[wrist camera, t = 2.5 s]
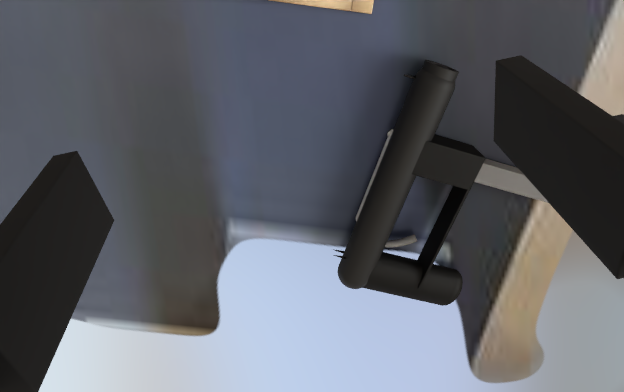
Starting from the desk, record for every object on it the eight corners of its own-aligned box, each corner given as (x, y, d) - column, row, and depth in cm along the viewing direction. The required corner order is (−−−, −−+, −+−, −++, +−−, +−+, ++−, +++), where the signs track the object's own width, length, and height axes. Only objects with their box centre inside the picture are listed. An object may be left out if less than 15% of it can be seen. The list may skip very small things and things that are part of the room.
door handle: (612, 122, 35) (414, 57, 32) (490, 325, 43) (323, 289, 40) (586, 110, 38) (403, 49, 35) (476, 302, 46) (320, 266, 43)
